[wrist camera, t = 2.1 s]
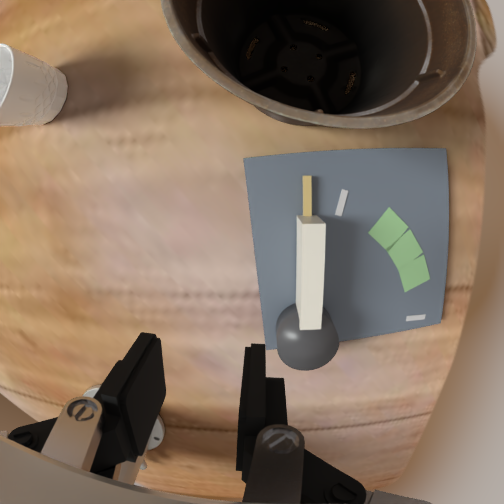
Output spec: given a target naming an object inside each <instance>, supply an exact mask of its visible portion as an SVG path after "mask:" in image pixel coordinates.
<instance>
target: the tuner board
mask: <svg viewBox="0 0 504 504" xmlns="http://www.w3.org/2000/svg"><path fill="white" fill-rule="evenodd" d="M243 159H244V167H245V176H246V184H247V192H248V200H249V209H250V217H251V225H252V234H253V242H254V251H255V259H256V267H257V276H258V284H259V293H260V301H261V310H262V318H263V327H264V335H265V344H266V350H271V349H277V338H276V322H277V319H278V317H279V315H280V314H281V312H282V311H283V310H284V309H285V308H287V307H288V306H290V305H292V304H294V303H296V256H297V215H303V176H311V187H312V215H317V216H318V217H319V218H320V219H321V220H322V221H324V222H325V223H326V236H325V268H324V289H323V307H324V308H325V309H326V310H327V311H328V312H329V314H330V316H331V319H332V321H333V324H334V326H335V328H336V331H337V333H338V337H339V342H340V341H347V340H353V339H360V338H366V337H372V336H378V335H384V334H389V333H395V332H400V331H405V330H410V329H415V328H420V327H425V326H430V325H434V324H439V323H441V317H442V310H443V302H444V294H445V284H446V273H447V259H448V239H449V186H448V166H447V152H446V148H376V149H349V150H331V151H316V152H302V153H291V154H280V155H270V156H260V157H251V158H243Z"/></svg>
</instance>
